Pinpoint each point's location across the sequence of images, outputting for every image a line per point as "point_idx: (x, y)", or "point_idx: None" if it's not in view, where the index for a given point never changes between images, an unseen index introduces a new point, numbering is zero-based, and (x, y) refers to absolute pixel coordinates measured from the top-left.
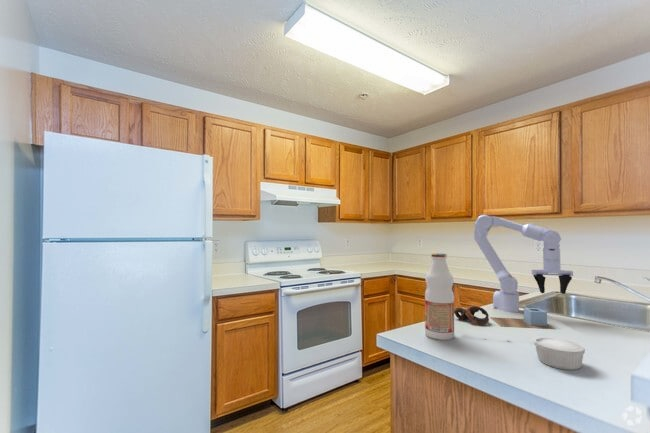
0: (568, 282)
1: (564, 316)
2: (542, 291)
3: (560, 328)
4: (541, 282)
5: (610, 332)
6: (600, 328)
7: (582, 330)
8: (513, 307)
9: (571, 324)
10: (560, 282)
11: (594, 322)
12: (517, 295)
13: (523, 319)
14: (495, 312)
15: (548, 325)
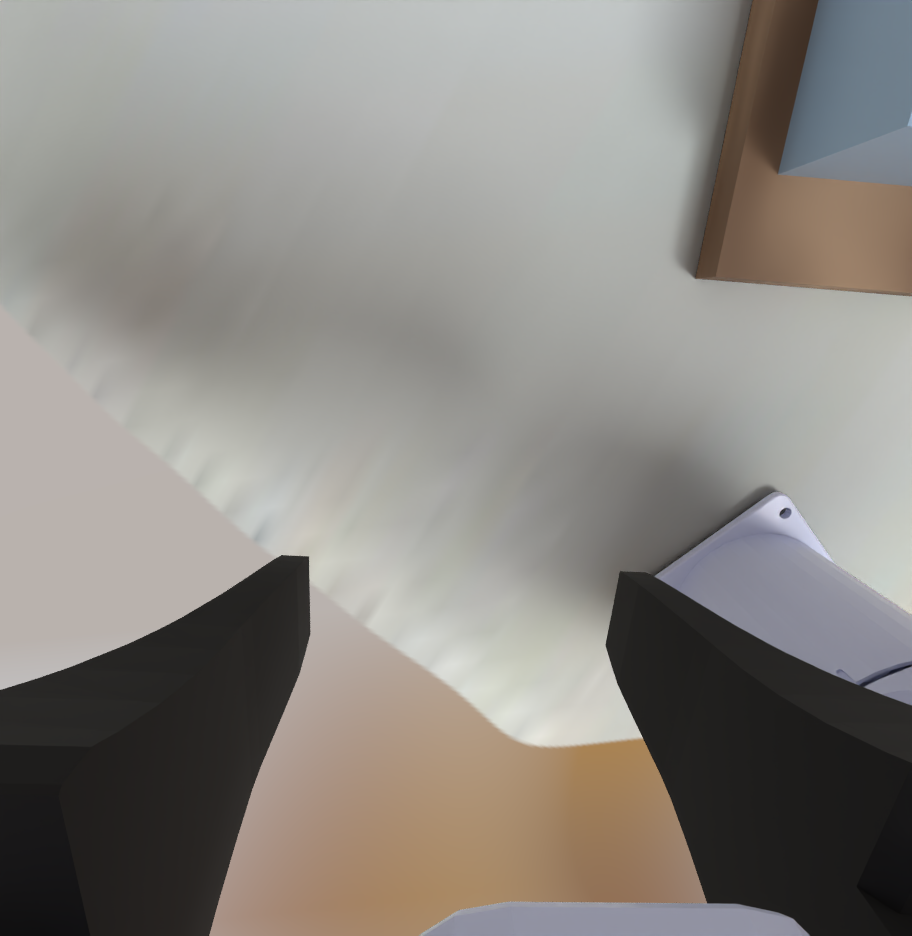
0: (97, 665)
1: None
2: (666, 584)
3: (591, 112)
4: (836, 681)
5: (139, 3)
6: (166, 162)
7: (402, 55)
8: (809, 565)
9: (385, 285)
10: (235, 816)
11: (114, 386)
12: (857, 664)
13: (884, 261)
14: None
15: (780, 20)
